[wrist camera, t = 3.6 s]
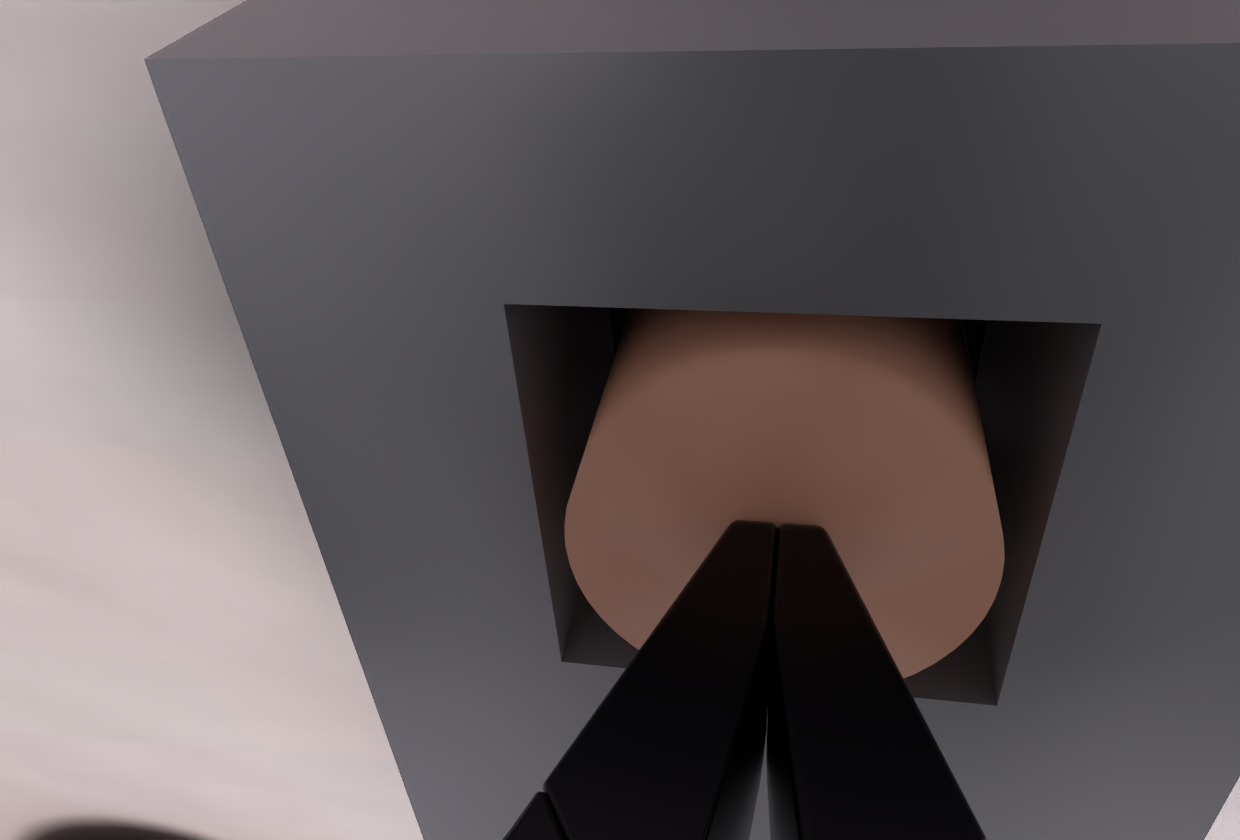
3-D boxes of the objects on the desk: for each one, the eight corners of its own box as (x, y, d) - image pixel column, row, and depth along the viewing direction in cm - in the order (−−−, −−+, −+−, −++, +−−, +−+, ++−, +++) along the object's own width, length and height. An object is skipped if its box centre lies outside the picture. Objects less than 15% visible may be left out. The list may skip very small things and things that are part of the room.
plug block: (1367, -96, 9) (1655, 36, 6) (990, 956, 22) (1015, 1174, 18) (346, -57, 11) (143, 59, 8) (554, 893, 23) (510, 1081, 20)
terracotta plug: (990, 201, 10) (1047, 400, 7) (939, 487, 13) (968, 716, 10) (615, 196, 11) (540, 375, 8) (636, 468, 13) (584, 676, 11)
